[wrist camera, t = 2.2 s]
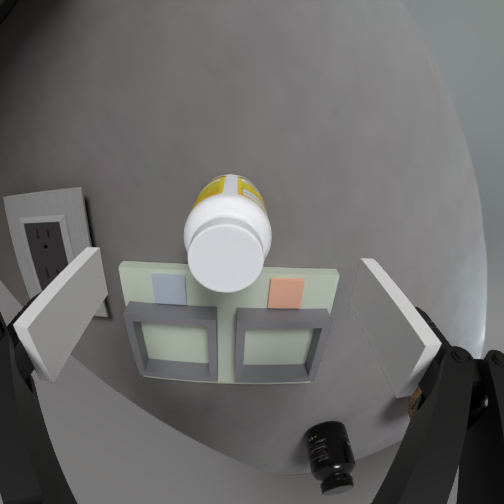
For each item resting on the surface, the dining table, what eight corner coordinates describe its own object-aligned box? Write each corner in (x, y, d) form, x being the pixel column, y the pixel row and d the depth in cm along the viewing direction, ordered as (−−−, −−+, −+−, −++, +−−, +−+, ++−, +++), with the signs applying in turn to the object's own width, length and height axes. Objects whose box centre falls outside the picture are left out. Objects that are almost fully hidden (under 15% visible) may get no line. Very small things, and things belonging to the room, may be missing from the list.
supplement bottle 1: (195, 232, 25) (172, 298, 16) (200, 170, 22) (174, 203, 13) (258, 239, 25) (268, 307, 16) (267, 177, 23) (286, 215, 14)
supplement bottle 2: (352, 422, 40) (370, 482, 29) (325, 441, 42) (337, 497, 31) (323, 417, 38) (339, 483, 27) (296, 436, 40) (305, 498, 29)
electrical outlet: (114, 305, 28) (106, 319, 26) (41, 298, 27) (32, 309, 25) (91, 182, 22) (79, 188, 20) (14, 191, 22) (1, 198, 20)
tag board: (122, 260, 25) (110, 278, 22) (335, 268, 27) (346, 286, 24) (145, 369, 32) (140, 388, 29) (308, 375, 33) (313, 395, 30)
